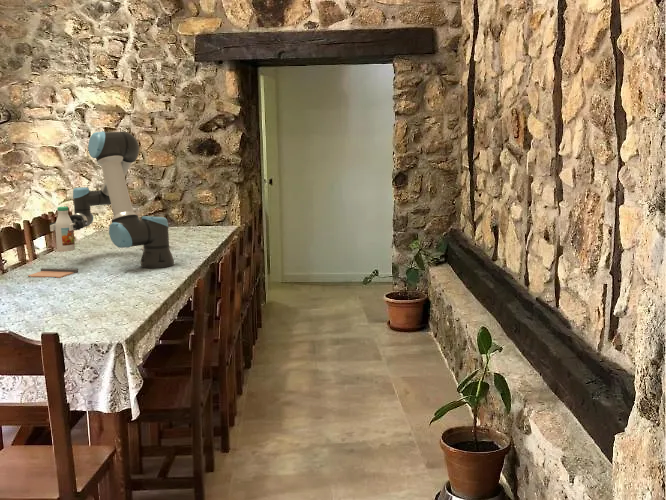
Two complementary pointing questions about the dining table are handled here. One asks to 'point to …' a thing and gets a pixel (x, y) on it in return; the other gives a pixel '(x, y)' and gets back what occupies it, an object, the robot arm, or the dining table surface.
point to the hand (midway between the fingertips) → (60, 227)
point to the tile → (50, 274)
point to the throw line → (60, 270)
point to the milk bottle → (64, 231)
